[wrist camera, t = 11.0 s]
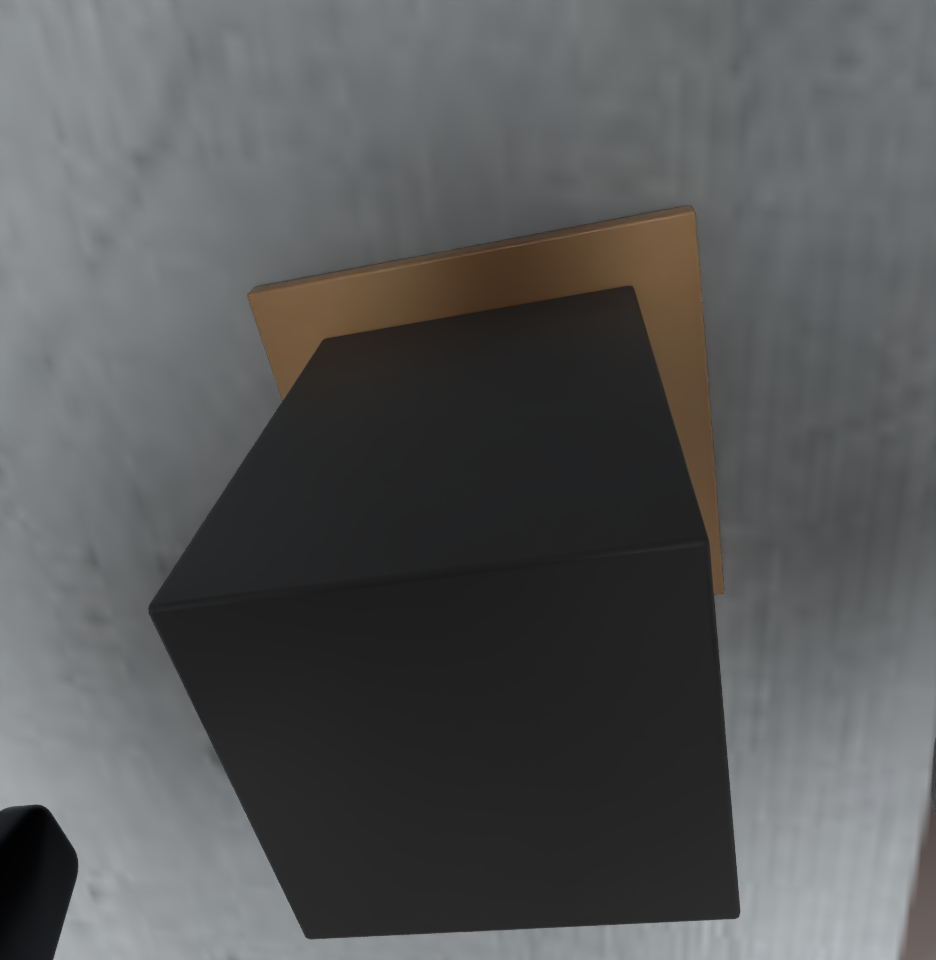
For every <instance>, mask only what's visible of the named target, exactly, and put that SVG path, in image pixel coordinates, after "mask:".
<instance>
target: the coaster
mask: <svg viewBox="0 0 936 960" xmlns="http://www.w3.org/2000/svg"><path fill="white" fill-rule="evenodd" d="M624 286H633V287H634V289H635V293H636V296H637V299H638V303H639V306H640V309H641V313H642V316H643V320H644V323H645V326H646V330H647V333H648V336H649V340H650V343H651V346H652V350H653V353H654V357H655V360H656V363H657V367H658V370H659V373H660V377H661V380H662V383H663V387H664V390H665V394H666V397H667V400H668V404H669V407H670V410H671V414H672V417H673V420H674V424H675V427H676V431H677V434H678V437H679V441H680V444H681V447H682V451H683V454H684V457H685V461H686V464H687V468H688V471H689V474H690V478H691V481H692V484H693V488H694V491H695V494H696V498H697V501H698V505H699V508H700V511H701V515H702V518H703V521H704V525H705V528H706V532H707V535H708V538H709V542H710V554H711V566H712V578H713V590H714V595H716V594H723V593H724V578H723V565H722V552H721V539H720V525H719V512H718V499H717V486H716V473H715V460H714V447H713V433H712V420H711V407H710V394H709V381H708V368H707V355H706V341H705V328H704V315H703V302H702V289H701V276H700V262H699V249H698V236H697V223H696V212H695V210H694V209H693V207H692V206H690V205H688V206H683V207H677V208H672V209H667V210H662V211H656V212H651V213H646V214H640V215H635V216H630V217H624V218H619V219H614V220H609V221H603V222H598V223H593V224H587V225H582V226H577V227H571V228H566V229H561V230H556V231H550V232H545V233H540V234H534V235H529V236H524V237H519V238H513V239H508V240H503V241H497V242H492V243H487V244H481V245H476V246H471V247H466V248H460V249H455V250H450V251H444V252H439V253H434V254H428V255H423V256H418V257H413V258H407V259H402V260H397V261H391V262H386V263H381V264H375V265H370V266H365V267H360V268H354V269H349V270H344V271H338V272H333V273H328V274H322V275H317V276H312V277H307V278H301V279H296V280H291V281H285V282H280V283H275V284H270V285H264V286H259V287H254V288H253V289H252V290H251V291H250V292H249V293H248V294H247V297H248V300H249V303H250V306H251V309H252V312H253V315H254V318H255V321H256V324H257V327H258V330H259V333H260V336H261V339H262V342H263V345H264V348H265V351H266V354H267V356H268V359H269V362H270V365H271V368H272V371H273V374H274V377H275V380H276V383H277V386H278V389H279V392H280V395H281V398H282V401H283V400H284V398H285V397H286V395H287V393H288V392H289V390H290V389H291V387H292V386H293V384H294V383H295V381H296V380H297V378H298V377H299V375H300V374H301V372H302V371H303V369H304V367H305V366H306V364H307V363H308V361H309V360H310V358H311V357H312V355H313V354H314V352H315V351H316V349H317V348H318V346H319V344H320V343H321V341H322V340H324V339H326V338H332V337H338V336H344V335H349V334H355V333H361V332H366V331H372V330H378V329H384V328H389V327H395V326H401V325H407V324H412V323H418V322H424V321H429V320H435V319H441V318H447V317H452V316H458V315H464V314H470V313H475V312H481V311H487V310H492V309H498V308H504V307H510V306H515V305H521V304H527V303H532V302H538V301H544V300H550V299H555V298H561V297H567V296H573V295H578V294H584V293H590V292H595V291H601V290H607V289H613V288H618V287H624Z"/></svg>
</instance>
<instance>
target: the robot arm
mask: <svg viewBox="0 0 936 960" xmlns="http://www.w3.org/2000/svg"><path fill="white" fill-rule="evenodd" d="M931 798H932V804H933V809H934V813H935V817H936V738H935V744H934V757H933V770H932V783H931ZM77 874H78V858H77V854H76V851H75V849H74V848H73V846H72V845H71V843H70V841H69V840H68V838H67V837H66V835H65V834H64V832H63V831H62V829H61V827H60V826H59V824H58V823H57V821H56V820H55V818H54V817H53V815H52V813H51V812H50V811H49V810H48V809H47V808H46V807H44V806H42V805H26V806H14V807H9V808H5V809H3V810H1V811H0V960H53V958H54V955H55V951H56V948H57V944H58V941H59V937H60V934H61V930H62V927H63V923H64V920H65V917H66V913H67V910H68V906H69V903H70V899H71V896H72V892H73V889H74V885H75V882H76V878H77Z"/></svg>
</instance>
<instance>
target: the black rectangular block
mask: <svg viewBox="0 0 936 960" xmlns="http://www.w3.org/2000/svg"><path fill="white" fill-rule="evenodd" d="M148 610H149V615H150V617H151V619H152V621H153V623H154V625H155V627H156V629H157V631H158V633H159V635H160V637H161V639H162V641H163V643H164V646H165V648H166V650H167V652H168V654H169V656H170V658H171V660H172V662H173V664H174V666H175V668H176V670H177V672H178V674H179V677H180V679H181V681H182V683H183V685H184V687H185V689H186V691H187V693H188V695H189V697H190V699H191V701H192V703H193V705H194V708H195V710H196V712H197V714H198V716H199V718H200V720H201V722H202V724H203V726H204V728H205V730H206V732H207V734H208V736H209V739H210V741H211V743H212V745H213V747H214V749H215V751H216V753H217V755H218V757H219V759H220V761H221V763H222V765H223V767H224V770H225V772H226V774H227V776H228V778H229V780H230V782H231V784H232V786H233V788H234V790H235V792H236V794H237V796H238V798H239V800H240V803H241V805H242V807H243V809H244V811H245V813H246V815H247V817H248V819H249V821H250V823H251V825H252V827H253V829H254V831H255V834H256V836H257V838H258V840H259V842H260V844H261V846H262V848H263V850H264V852H265V854H266V856H267V858H268V860H269V862H270V865H271V867H272V869H273V871H274V873H275V875H276V877H277V879H278V881H279V883H280V885H281V887H282V889H283V891H284V893H285V896H286V898H287V900H288V902H289V904H290V906H291V908H292V910H293V912H294V914H295V916H296V918H297V920H298V922H299V924H300V926H301V929H302V931H303V933H304V935H305V937H306V938H308V939H327V938H348V937H368V936H389V935H410V934H431V933H451V932H472V931H493V930H514V929H534V928H555V927H576V926H597V925H617V924H638V923H659V922H680V921H700V920H721V919H736V918H738V917H739V915H740V902H739V890H738V878H737V866H736V854H735V842H734V830H733V818H732V806H731V794H730V782H729V770H728V758H727V746H726V734H725V722H724V710H723V698H722V686H721V674H720V662H719V650H718V638H717V626H716V614H715V602H714V590H713V578H712V566H711V554H710V542H709V538H708V535H707V532H706V528H705V525H704V521H703V518H702V515H701V511H700V508H699V505H698V501H697V498H696V494H695V491H694V488H693V484H692V481H691V478H690V474H689V471H688V468H687V464H686V461H685V457H684V454H683V451H682V447H681V444H680V441H679V437H678V434H677V431H676V427H675V424H674V420H673V417H672V414H671V410H670V407H669V404H668V400H667V397H666V394H665V390H664V387H663V383H662V380H661V377H660V373H659V370H658V367H657V363H656V360H655V357H654V353H653V350H652V346H651V343H650V340H649V336H648V333H647V330H646V326H645V323H644V320H643V316H642V313H641V309H640V306H639V303H638V299H637V296H636V293H635V289H634V287H633V286H624V287H618V288H613V289H607V290H601V291H595V292H590V293H584V294H578V295H573V296H567V297H561V298H555V299H550V300H544V301H538V302H532V303H527V304H521V305H515V306H510V307H504V308H498V309H492V310H487V311H481V312H475V313H470V314H464V315H458V316H452V317H447V318H441V319H435V320H429V321H424V322H418V323H412V324H407V325H401V326H395V327H389V328H384V329H378V330H372V331H366V332H361V333H355V334H349V335H344V336H338V337H332V338H326V339H324V340H322V341H321V343H320V344H319V346H318V348H317V349H316V351H315V352H314V354H313V355H312V357H311V358H310V360H309V361H308V363H307V364H306V366H305V367H304V369H303V371H302V372H301V374H300V375H299V377H298V378H297V380H296V381H295V383H294V384H293V386H292V387H291V389H290V390H289V392H288V393H287V395H286V397H285V398H284V400H283V401H282V403H281V404H280V406H279V407H278V409H277V410H276V412H275V413H274V415H273V416H272V418H271V420H270V421H269V423H268V424H267V426H266V427H265V429H264V430H263V432H262V433H261V435H260V436H259V438H258V439H257V441H256V442H255V444H254V446H253V447H252V449H251V450H250V452H249V453H248V455H247V456H246V458H245V459H244V461H243V462H242V464H241V465H240V467H239V468H238V470H237V472H236V473H235V475H234V476H233V478H232V479H231V481H230V482H229V484H228V485H227V487H226V488H225V490H224V491H223V493H222V495H221V496H220V498H219V499H218V501H217V502H216V504H215V505H214V507H213V508H212V510H211V511H210V513H209V514H208V516H207V517H206V519H205V521H204V522H203V524H202V525H201V527H200V528H199V530H198V531H197V533H196V534H195V536H194V537H193V539H192V540H191V542H190V544H189V545H188V547H187V548H186V550H185V551H184V553H183V554H182V556H181V557H180V559H179V560H178V562H177V563H176V565H175V566H174V568H173V570H172V571H171V573H170V574H169V576H168V577H167V579H166V580H165V582H164V583H163V585H162V586H161V588H160V589H159V591H158V593H157V594H156V596H155V597H154V599H153V600H152V602H151V603H150V605H149V609H148Z"/></svg>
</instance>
